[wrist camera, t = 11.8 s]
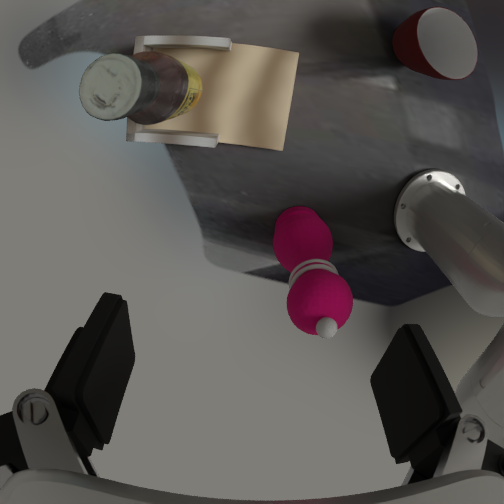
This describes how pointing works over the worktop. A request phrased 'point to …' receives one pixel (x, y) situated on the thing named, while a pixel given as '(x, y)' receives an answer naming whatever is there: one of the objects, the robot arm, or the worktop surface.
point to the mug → (436, 44)
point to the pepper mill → (311, 273)
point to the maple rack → (225, 93)
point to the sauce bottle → (139, 87)
